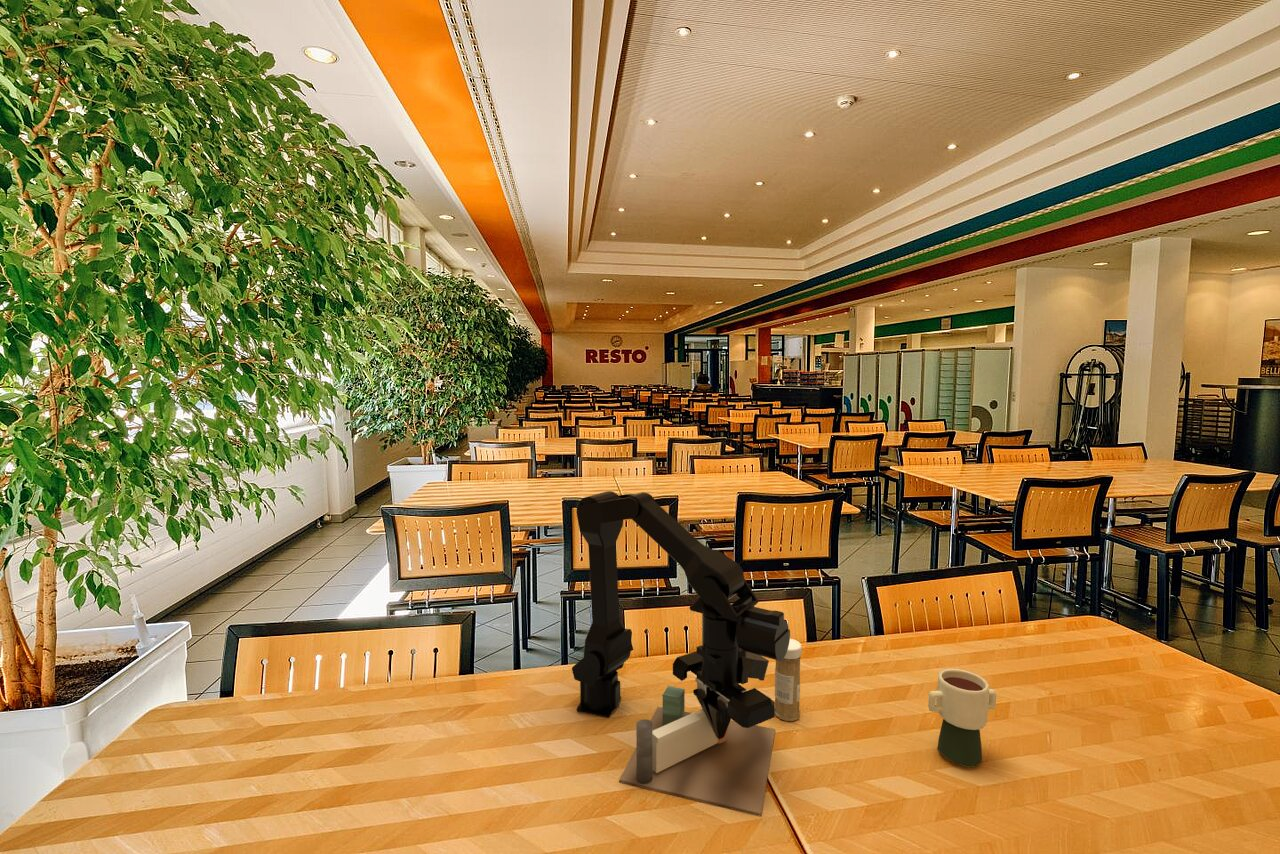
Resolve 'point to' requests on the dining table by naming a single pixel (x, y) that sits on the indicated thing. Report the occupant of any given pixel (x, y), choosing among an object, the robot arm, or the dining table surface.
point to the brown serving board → (705, 762)
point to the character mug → (961, 714)
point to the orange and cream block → (682, 740)
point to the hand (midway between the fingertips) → (720, 737)
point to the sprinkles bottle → (788, 683)
